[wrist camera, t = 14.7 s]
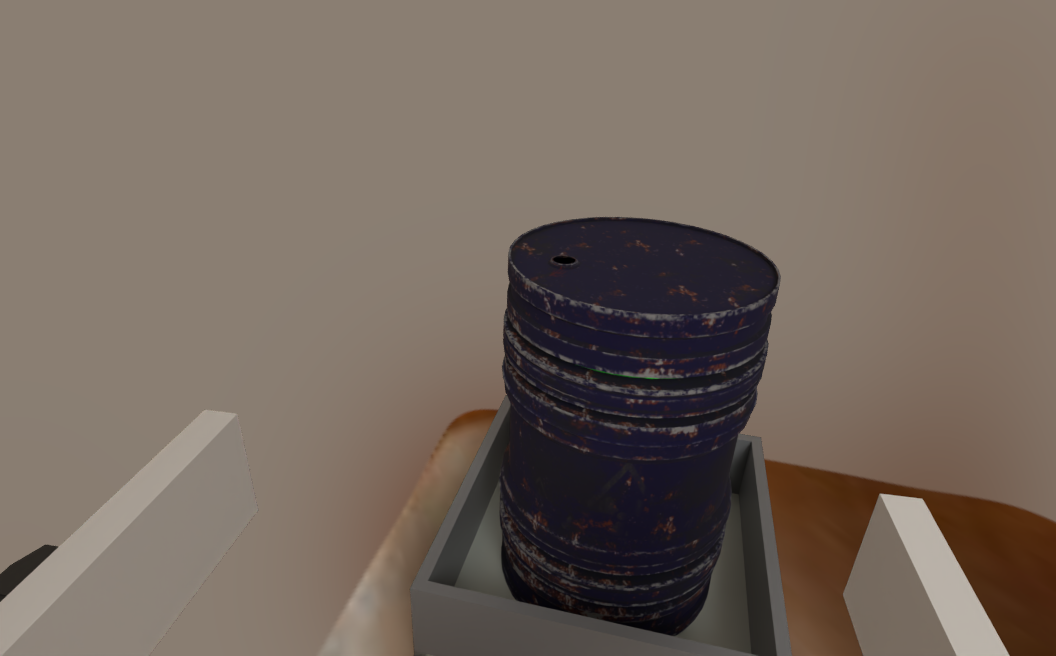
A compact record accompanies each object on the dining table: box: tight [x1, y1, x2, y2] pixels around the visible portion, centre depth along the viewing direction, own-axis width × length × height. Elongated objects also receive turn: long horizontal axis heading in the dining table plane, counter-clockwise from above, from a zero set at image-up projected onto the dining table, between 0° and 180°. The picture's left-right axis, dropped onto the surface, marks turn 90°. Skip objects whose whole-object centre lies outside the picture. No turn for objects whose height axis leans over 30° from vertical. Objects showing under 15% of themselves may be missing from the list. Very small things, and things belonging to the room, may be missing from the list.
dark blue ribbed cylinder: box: [499, 217, 781, 636], centre depth 27 cm, size 10×10×15 cm
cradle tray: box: [410, 395, 792, 656], centre depth 30 cm, size 14×14×4 cm
